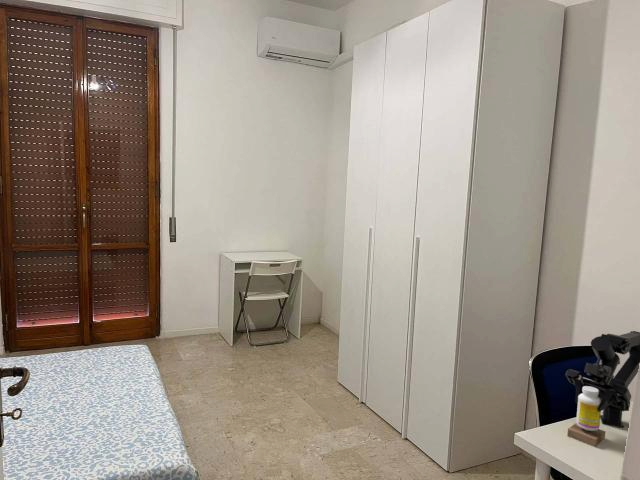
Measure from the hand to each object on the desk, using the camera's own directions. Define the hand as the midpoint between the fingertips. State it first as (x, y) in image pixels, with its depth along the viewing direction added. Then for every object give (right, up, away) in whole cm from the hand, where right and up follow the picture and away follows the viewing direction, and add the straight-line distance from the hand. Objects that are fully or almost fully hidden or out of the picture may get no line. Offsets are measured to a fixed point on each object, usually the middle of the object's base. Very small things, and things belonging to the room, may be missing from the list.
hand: (587, 406), depth 151 cm
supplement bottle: (+1, -7, +2) cm, 7 cm away
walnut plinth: (+1, -11, +2) cm, 11 cm away
